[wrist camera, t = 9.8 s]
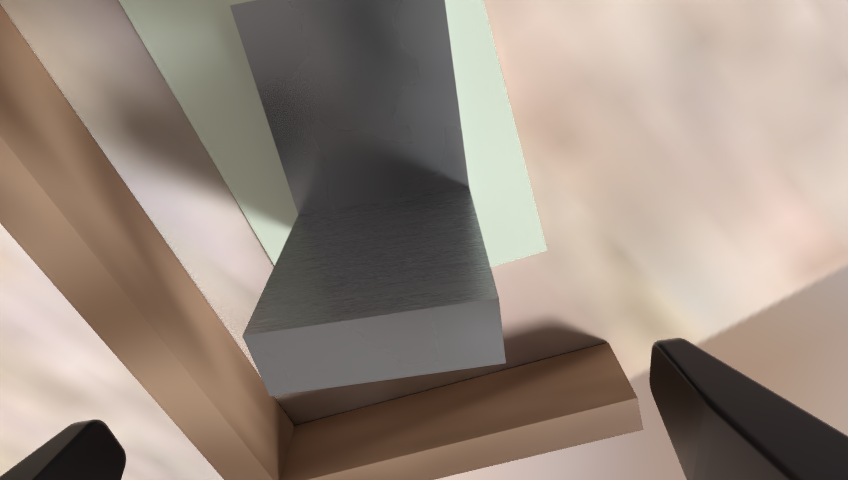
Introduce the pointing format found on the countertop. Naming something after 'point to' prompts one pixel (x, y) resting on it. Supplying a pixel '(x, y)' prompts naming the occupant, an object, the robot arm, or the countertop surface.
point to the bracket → (367, 198)
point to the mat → (254, 145)
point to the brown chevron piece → (219, 353)
